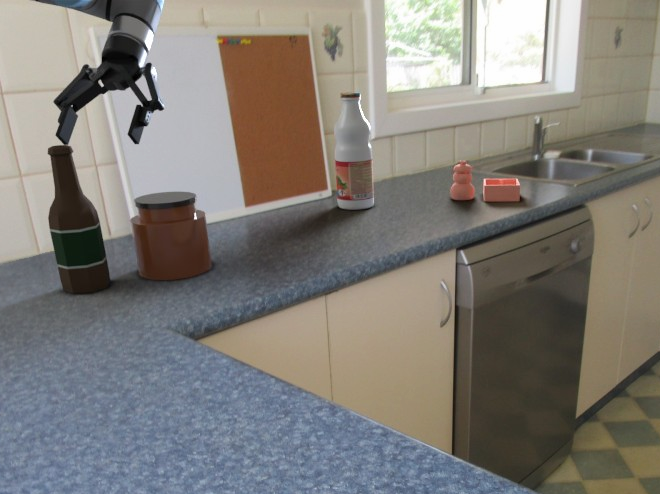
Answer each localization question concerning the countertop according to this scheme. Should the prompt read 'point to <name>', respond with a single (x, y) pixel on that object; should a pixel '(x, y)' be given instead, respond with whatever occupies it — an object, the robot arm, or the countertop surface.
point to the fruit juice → (353, 156)
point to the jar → (170, 236)
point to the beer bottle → (75, 229)
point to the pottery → (492, 187)
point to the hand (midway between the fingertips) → (97, 140)
